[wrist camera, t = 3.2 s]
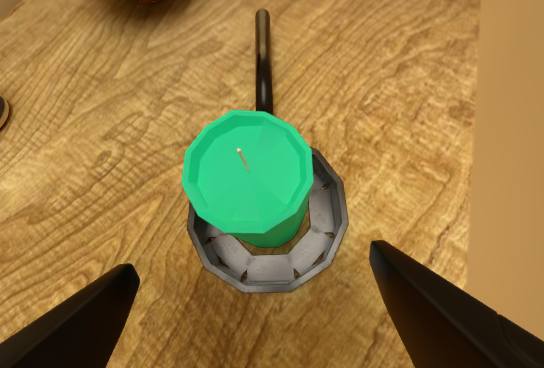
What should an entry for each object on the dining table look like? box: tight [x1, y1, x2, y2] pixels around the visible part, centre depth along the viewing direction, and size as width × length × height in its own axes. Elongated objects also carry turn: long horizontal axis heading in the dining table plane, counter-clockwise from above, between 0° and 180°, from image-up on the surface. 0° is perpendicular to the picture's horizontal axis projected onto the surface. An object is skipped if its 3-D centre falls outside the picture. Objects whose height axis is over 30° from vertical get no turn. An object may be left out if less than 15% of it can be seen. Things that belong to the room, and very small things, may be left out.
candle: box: [182, 110, 313, 247], centre depth 14 cm, size 6×6×12 cm
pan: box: [187, 9, 349, 293], centre depth 21 cm, size 28×12×3 cm, turn 2°
